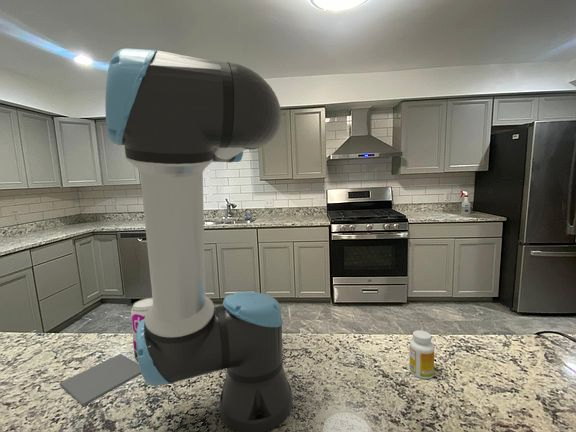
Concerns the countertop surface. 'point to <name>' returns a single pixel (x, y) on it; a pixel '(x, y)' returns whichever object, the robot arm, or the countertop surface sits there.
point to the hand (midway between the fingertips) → (179, 257)
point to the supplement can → (139, 317)
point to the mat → (101, 379)
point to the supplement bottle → (422, 355)
